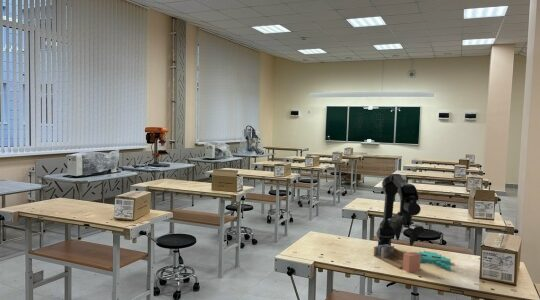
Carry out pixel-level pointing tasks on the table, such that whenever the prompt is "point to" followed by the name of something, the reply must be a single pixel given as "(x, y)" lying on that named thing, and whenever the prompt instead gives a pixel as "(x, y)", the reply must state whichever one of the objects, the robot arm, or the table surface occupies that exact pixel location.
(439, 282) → the table surface
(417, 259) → the salmon pink block
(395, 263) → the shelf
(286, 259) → the table surface
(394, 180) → the robot arm
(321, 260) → the table surface
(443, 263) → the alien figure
